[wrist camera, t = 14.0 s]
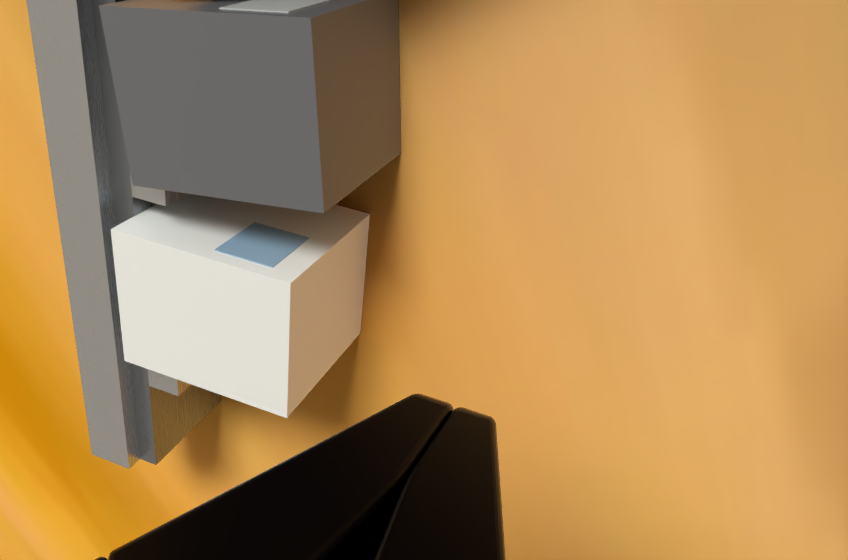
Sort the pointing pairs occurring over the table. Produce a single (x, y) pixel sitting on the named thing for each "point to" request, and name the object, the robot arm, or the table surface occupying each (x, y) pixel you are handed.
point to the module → (241, 295)
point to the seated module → (257, 96)
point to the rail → (101, 236)
